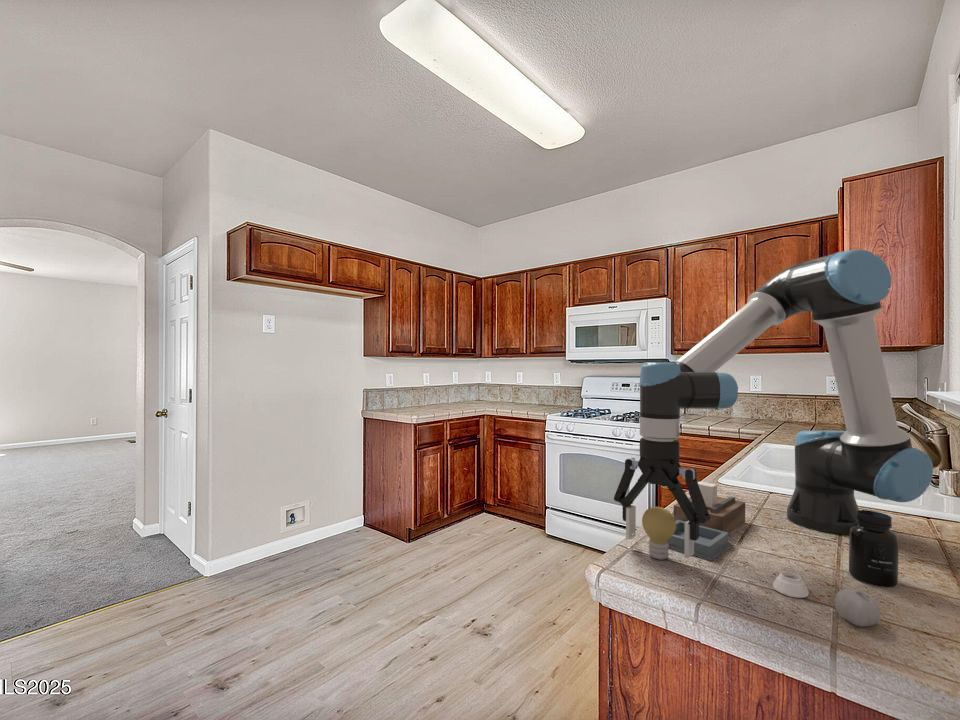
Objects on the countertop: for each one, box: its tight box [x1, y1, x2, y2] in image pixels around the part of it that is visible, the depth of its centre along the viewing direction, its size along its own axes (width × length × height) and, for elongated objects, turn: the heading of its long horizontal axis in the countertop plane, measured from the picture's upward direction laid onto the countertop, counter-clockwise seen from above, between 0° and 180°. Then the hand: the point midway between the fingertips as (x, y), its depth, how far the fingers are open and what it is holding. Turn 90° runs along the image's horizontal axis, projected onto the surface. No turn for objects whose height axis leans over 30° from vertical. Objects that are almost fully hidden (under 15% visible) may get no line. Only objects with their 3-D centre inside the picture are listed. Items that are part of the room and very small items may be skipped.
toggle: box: [697, 481, 718, 508], centre depth 108 cm, size 4×3×5 cm
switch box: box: [673, 495, 746, 535], centre depth 110 cm, size 11×16×6 cm
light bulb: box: [641, 506, 676, 561], centre depth 91 cm, size 6×6×10 cm
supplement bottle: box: [848, 509, 900, 588], centre depth 82 cm, size 7×7×12 cm
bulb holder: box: [667, 520, 733, 562], centre depth 98 cm, size 12×12×3 cm
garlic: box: [834, 588, 881, 628], centre depth 69 cm, size 6×5×5 cm
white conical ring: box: [772, 571, 810, 599], centre depth 78 cm, size 5×3×5 cm
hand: (658, 546), depth 91 cm, fingers open, 11 cm apart
